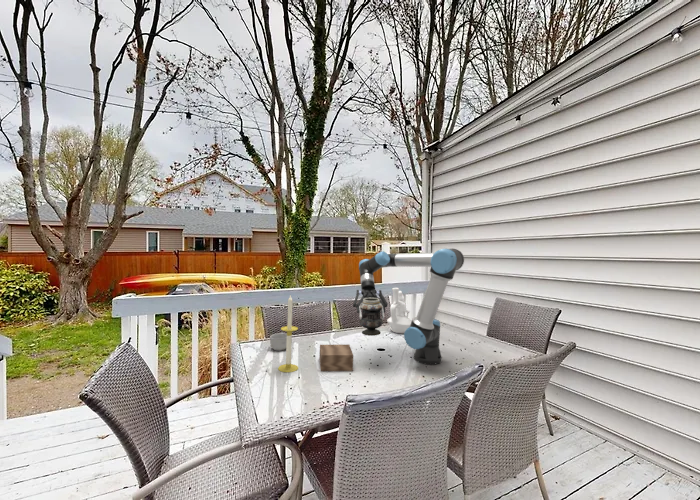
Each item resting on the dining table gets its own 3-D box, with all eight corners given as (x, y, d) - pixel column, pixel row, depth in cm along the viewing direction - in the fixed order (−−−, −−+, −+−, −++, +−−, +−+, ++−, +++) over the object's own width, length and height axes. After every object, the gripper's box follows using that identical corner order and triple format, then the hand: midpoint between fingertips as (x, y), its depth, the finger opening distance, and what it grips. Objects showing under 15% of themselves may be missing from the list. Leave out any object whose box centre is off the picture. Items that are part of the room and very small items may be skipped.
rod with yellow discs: (289, 374, 166) (291, 296, 164) (273, 369, 171) (275, 294, 169) (302, 367, 175) (304, 294, 173) (287, 363, 180) (289, 291, 178)
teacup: (284, 353, 194) (284, 339, 194) (266, 351, 196) (266, 337, 196) (293, 345, 208) (293, 332, 207) (276, 343, 210) (276, 330, 209)
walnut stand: (348, 358, 189) (349, 344, 189) (352, 370, 173) (353, 355, 173) (319, 359, 187) (319, 344, 187) (320, 371, 171) (321, 355, 171)
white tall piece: (416, 332, 245) (419, 287, 244) (398, 338, 230) (400, 290, 228) (396, 326, 258) (398, 284, 256) (377, 332, 242) (379, 286, 241)
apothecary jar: (387, 332, 182) (387, 298, 181) (373, 338, 173) (373, 302, 172) (369, 328, 190) (368, 295, 189) (355, 333, 181) (354, 299, 179)
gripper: (386, 287, 197) (392, 321, 183) (346, 287, 194) (348, 321, 180) (389, 279, 192) (395, 314, 177) (347, 279, 189) (350, 314, 174)
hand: (372, 318), depth 179 cm, fingers closed on apothecary jar, 11 cm apart
